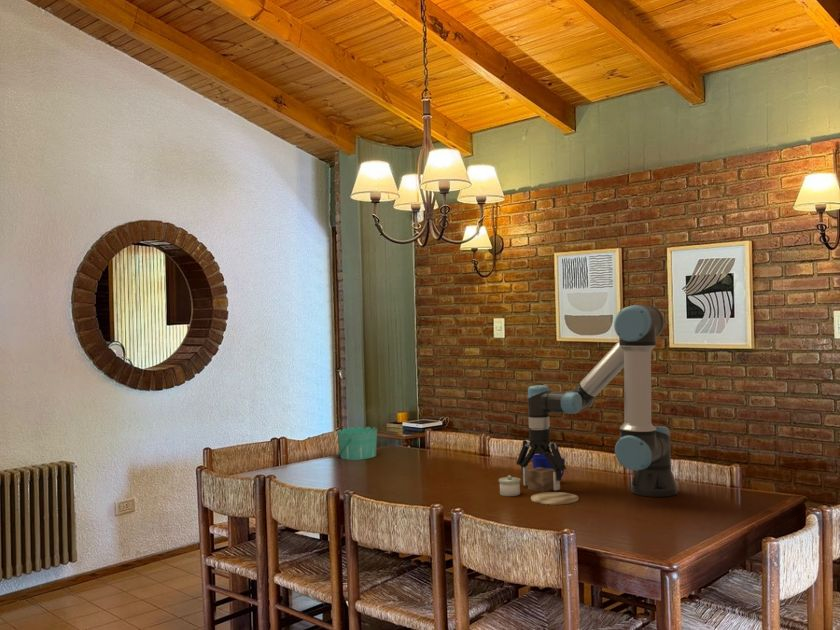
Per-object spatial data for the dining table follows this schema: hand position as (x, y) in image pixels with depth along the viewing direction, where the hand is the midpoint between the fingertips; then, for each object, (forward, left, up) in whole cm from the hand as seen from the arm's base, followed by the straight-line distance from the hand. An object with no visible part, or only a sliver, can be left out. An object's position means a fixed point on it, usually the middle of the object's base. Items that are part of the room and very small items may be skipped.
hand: (541, 487), depth 269 cm
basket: (+109, -3, -1) cm, 109 cm away
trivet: (-13, +10, 0) cm, 16 cm away
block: (0, 0, -1) cm, 1 cm away
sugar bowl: (+4, +13, -1) cm, 14 cm away
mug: (+4, -10, -1) cm, 11 cm away
